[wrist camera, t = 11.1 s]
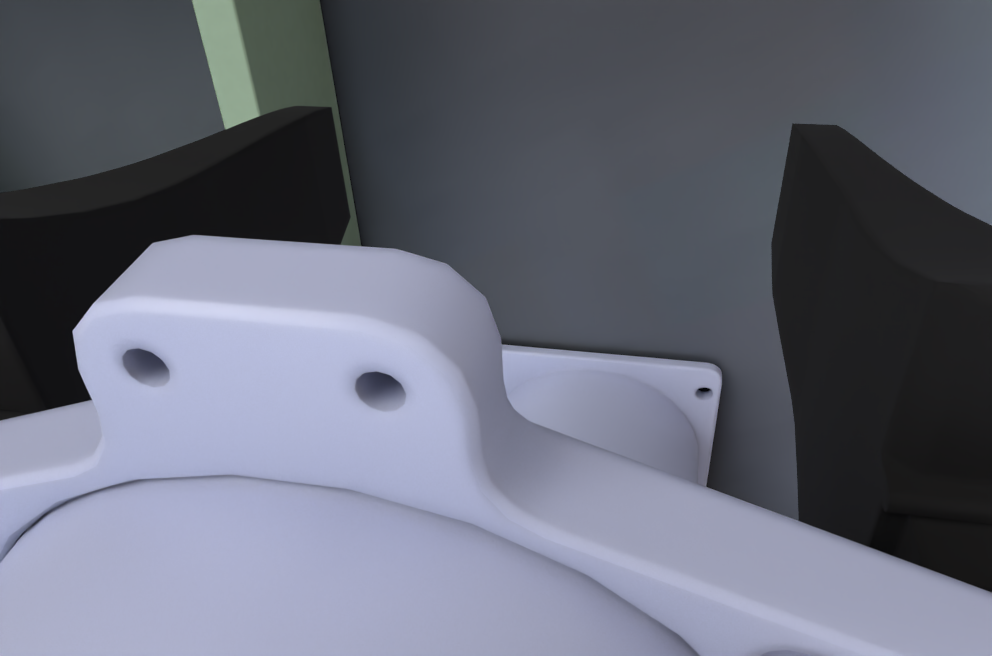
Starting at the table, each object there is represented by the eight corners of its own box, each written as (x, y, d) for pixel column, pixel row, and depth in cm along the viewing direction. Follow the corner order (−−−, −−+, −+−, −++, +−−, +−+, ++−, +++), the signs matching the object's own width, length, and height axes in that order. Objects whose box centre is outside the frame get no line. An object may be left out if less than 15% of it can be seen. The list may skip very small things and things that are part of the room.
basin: (364, 260, 27) (299, 370, 23) (-38, 231, 30) (-163, 325, 25) (263, -337, 18) (124, -341, 14) (-304, -298, 21) (-567, -290, 16)
